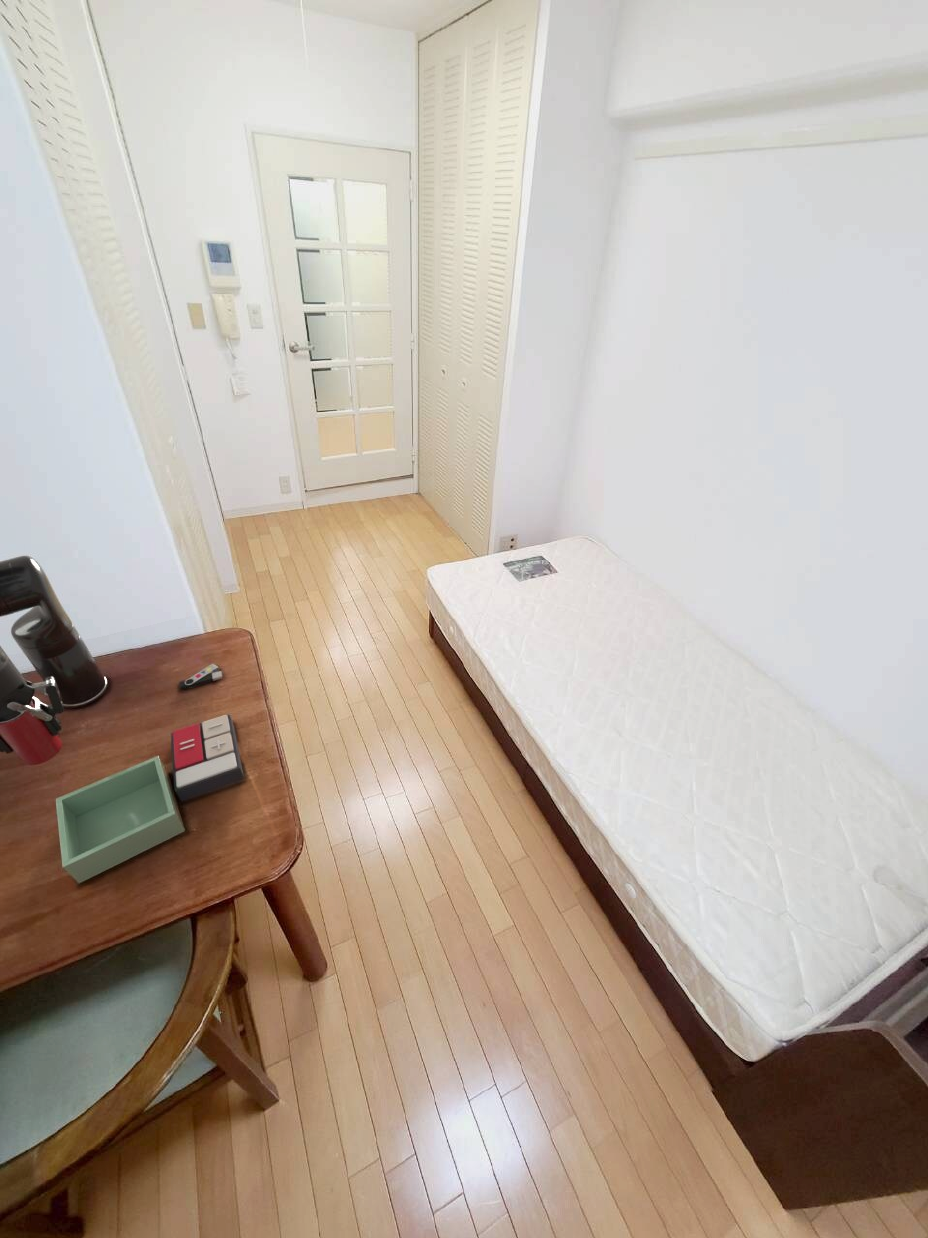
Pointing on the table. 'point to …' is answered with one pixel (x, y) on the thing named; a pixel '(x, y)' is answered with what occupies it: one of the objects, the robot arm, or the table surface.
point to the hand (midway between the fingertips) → (33, 740)
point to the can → (29, 737)
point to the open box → (116, 819)
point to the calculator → (205, 757)
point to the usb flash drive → (202, 677)
